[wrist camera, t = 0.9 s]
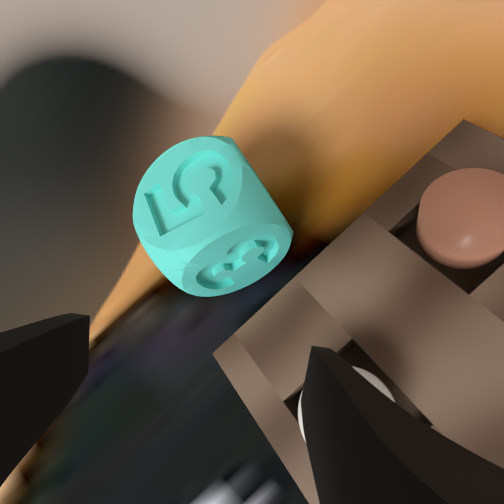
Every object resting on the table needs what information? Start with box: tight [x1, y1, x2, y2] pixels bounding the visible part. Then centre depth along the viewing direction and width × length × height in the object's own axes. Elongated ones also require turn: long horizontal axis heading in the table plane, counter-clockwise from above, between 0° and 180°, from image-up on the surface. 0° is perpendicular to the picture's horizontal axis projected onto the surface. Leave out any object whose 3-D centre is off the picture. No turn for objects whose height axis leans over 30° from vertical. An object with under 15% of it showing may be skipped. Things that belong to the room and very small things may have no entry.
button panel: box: [213, 119, 504, 504], centre depth 18 cm, size 13×21×3 cm, turn 129°
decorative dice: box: [133, 136, 294, 297], centre depth 23 cm, size 8×8×8 cm
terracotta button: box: [416, 168, 504, 269], centre depth 17 cm, size 4×4×3 cm
